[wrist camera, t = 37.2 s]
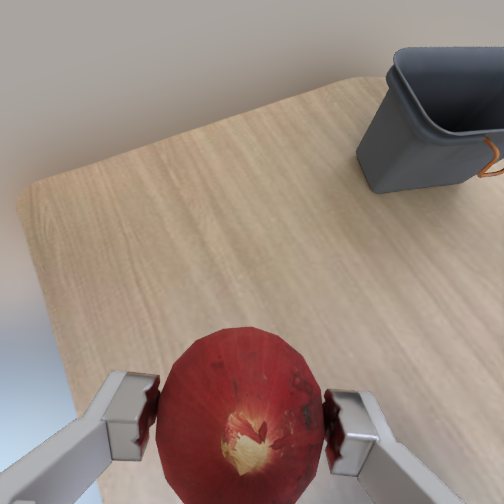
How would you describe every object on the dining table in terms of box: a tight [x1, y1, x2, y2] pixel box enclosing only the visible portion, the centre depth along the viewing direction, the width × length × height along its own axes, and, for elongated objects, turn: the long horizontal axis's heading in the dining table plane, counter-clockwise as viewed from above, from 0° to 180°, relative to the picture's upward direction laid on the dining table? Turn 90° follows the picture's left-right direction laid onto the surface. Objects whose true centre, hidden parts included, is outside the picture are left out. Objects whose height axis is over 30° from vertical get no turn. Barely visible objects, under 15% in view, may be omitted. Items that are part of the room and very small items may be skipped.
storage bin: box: [356, 47, 504, 194], centre depth 35 cm, size 21×16×14 cm
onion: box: [155, 327, 325, 504], centre depth 9 cm, size 6×6×8 cm
